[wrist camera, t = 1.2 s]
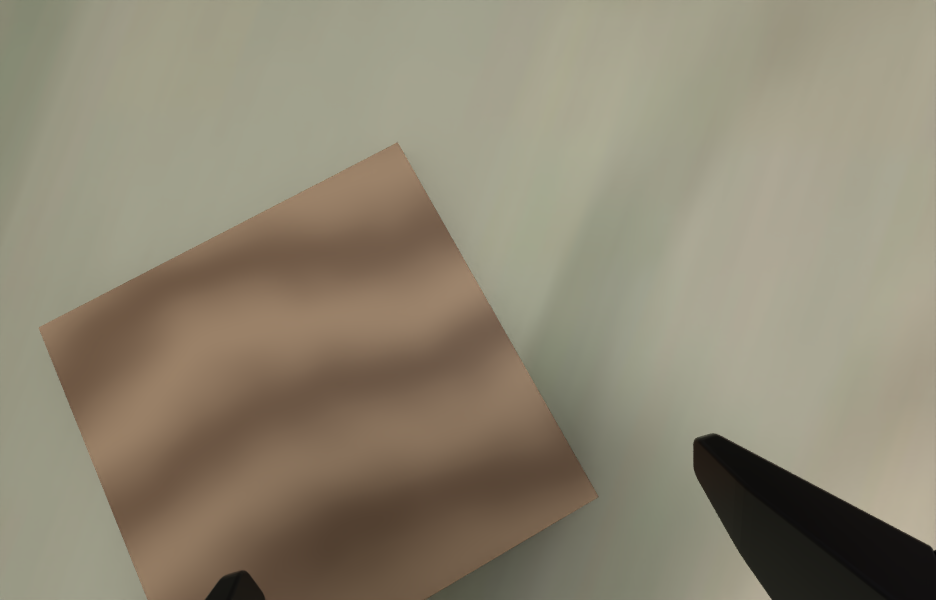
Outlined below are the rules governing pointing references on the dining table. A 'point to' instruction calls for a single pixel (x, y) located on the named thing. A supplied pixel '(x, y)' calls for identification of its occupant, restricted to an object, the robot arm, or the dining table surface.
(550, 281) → the dining table surface
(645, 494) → the dining table surface
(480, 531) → the walnut board
